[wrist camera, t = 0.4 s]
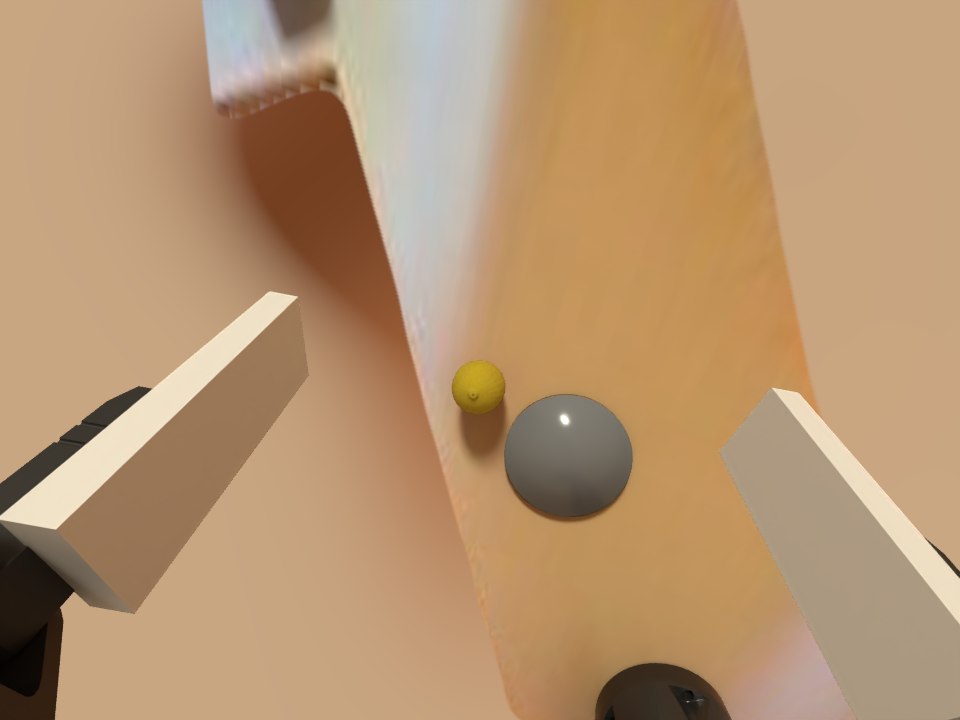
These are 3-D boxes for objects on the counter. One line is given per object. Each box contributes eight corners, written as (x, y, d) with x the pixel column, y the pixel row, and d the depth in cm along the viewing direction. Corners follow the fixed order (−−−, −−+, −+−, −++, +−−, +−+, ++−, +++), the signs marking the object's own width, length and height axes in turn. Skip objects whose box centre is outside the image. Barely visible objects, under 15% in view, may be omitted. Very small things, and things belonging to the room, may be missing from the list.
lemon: (484, 413, 45) (473, 434, 37) (450, 380, 45) (432, 394, 37) (517, 380, 44) (514, 395, 36) (482, 346, 44) (471, 353, 36)
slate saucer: (653, 480, 43) (656, 484, 42) (542, 531, 46) (542, 536, 45) (592, 371, 43) (593, 373, 42) (483, 429, 45) (481, 432, 44)
